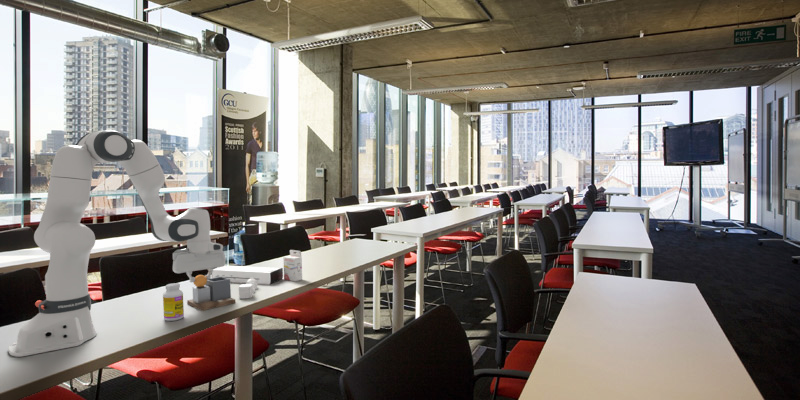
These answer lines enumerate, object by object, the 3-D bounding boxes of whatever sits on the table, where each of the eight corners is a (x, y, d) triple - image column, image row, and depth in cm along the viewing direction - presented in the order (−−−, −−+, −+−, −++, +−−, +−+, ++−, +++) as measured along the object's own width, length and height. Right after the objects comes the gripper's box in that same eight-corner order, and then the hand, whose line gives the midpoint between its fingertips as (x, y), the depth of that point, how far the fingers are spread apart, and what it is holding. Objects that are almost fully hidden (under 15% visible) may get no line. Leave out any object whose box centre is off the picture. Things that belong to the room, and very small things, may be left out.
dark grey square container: (213, 301, 184) (212, 282, 183) (205, 298, 189) (205, 279, 188) (230, 297, 189) (230, 279, 189) (222, 294, 194) (222, 276, 194)
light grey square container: (198, 304, 181) (197, 289, 180) (193, 301, 184) (192, 287, 184) (210, 301, 184) (209, 286, 184) (205, 299, 188) (204, 285, 187)
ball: (196, 289, 180) (196, 276, 180) (191, 287, 183) (191, 274, 183) (209, 287, 183) (209, 274, 183) (203, 285, 187) (203, 273, 187)
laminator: (211, 281, 227) (211, 269, 226) (227, 276, 239) (226, 264, 238) (271, 285, 218) (270, 272, 217) (284, 279, 229) (283, 267, 229)
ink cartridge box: (283, 279, 227) (282, 250, 226) (290, 277, 231) (289, 249, 230) (295, 281, 222) (294, 252, 221) (302, 279, 226) (301, 250, 226)
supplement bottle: (175, 322, 163) (174, 287, 163) (159, 321, 165) (158, 286, 164) (187, 316, 170) (186, 282, 169) (172, 315, 171) (171, 282, 170)
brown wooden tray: (201, 310, 177) (201, 305, 176) (187, 303, 186) (187, 299, 186) (235, 302, 187) (235, 298, 187) (220, 296, 196) (220, 292, 196)
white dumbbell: (251, 298, 193) (250, 286, 193) (238, 299, 193) (238, 286, 192) (258, 287, 213) (258, 275, 213) (247, 287, 212) (246, 276, 212)
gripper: (175, 251, 173) (176, 286, 174) (226, 245, 188) (227, 277, 188) (169, 249, 177) (170, 284, 178) (219, 243, 192) (220, 275, 193)
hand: (200, 280), depth 183 cm, fingers closed on ball, 5 cm apart
